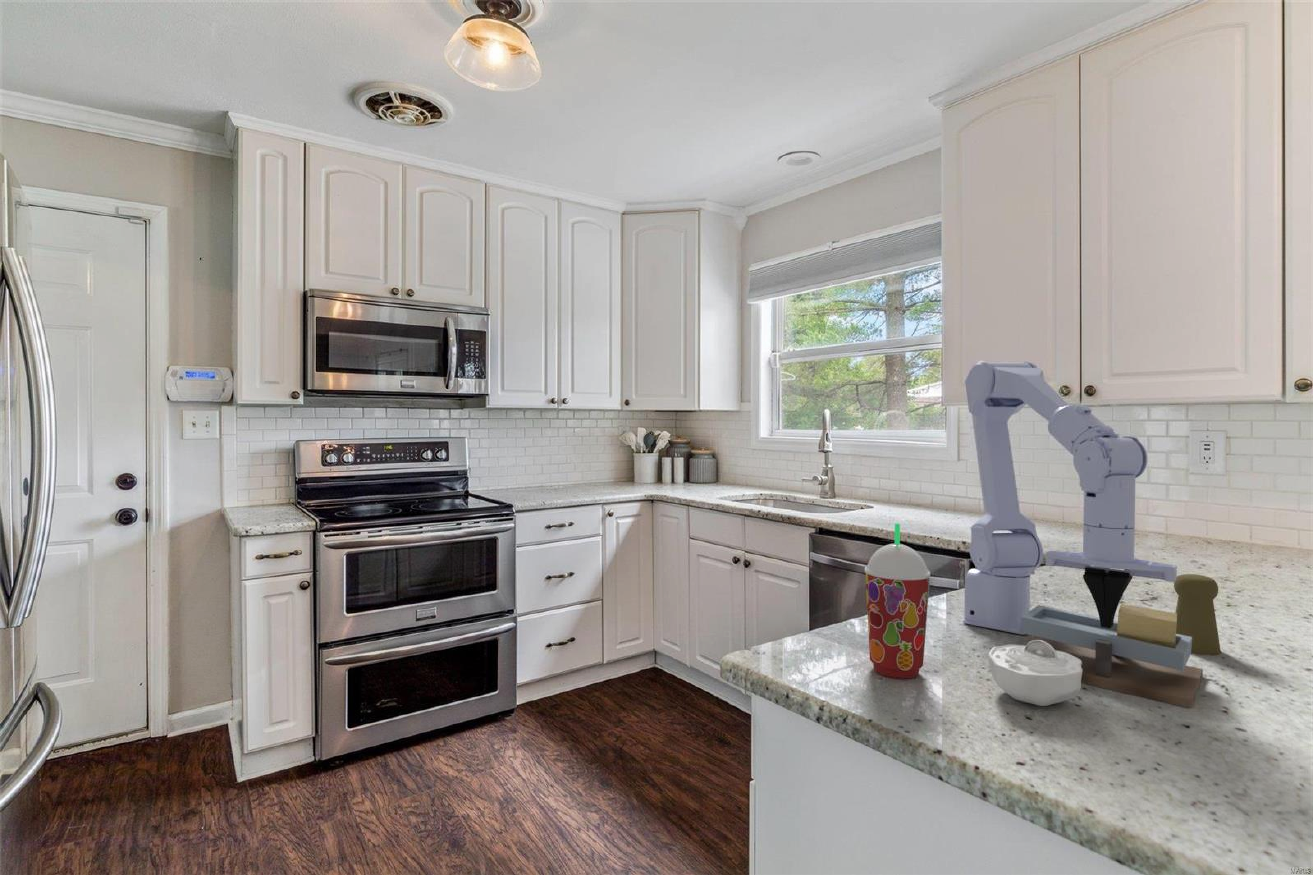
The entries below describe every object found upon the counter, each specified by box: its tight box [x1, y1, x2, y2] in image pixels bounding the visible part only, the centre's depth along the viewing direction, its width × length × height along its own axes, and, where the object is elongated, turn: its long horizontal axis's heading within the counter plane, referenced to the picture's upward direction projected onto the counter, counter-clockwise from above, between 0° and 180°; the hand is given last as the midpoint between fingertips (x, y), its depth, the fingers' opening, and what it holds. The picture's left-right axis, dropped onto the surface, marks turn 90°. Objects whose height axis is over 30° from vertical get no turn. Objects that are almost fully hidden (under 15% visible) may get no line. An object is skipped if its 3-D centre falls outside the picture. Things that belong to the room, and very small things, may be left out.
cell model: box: [988, 640, 1083, 707], centre depth 80 cm, size 10×12×7 cm
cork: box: [1173, 573, 1222, 656], centre depth 99 cm, size 6×6×11 cm
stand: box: [1023, 636, 1204, 709], centre depth 90 cm, size 20×14×5 cm
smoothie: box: [864, 523, 931, 680], centre depth 89 cm, size 8×8×20 cm
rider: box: [1117, 603, 1177, 649], centre depth 87 cm, size 6×5×4 cm
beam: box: [1020, 604, 1192, 671], centre depth 90 cm, size 18×9×2 cm, turn 46°
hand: (1107, 626), depth 90 cm, fingers closed
